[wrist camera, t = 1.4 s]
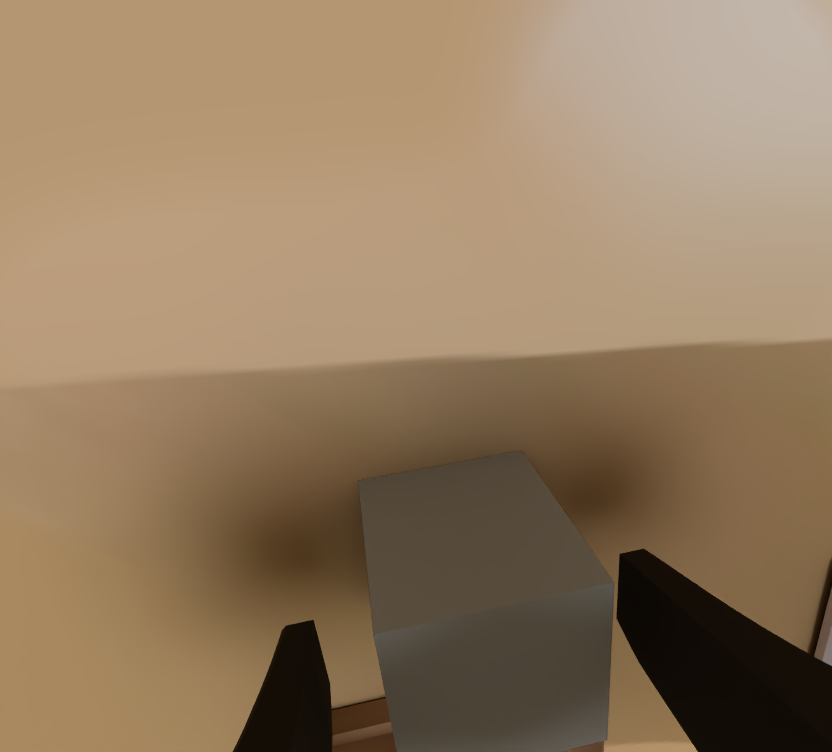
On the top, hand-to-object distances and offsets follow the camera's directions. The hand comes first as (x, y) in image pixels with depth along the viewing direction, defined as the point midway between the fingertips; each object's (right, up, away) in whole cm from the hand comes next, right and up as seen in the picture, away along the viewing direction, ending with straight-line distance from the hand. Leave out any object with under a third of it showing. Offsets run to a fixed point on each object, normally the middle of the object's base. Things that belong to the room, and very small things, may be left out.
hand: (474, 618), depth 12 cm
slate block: (0, +1, +3) cm, 3 cm away
